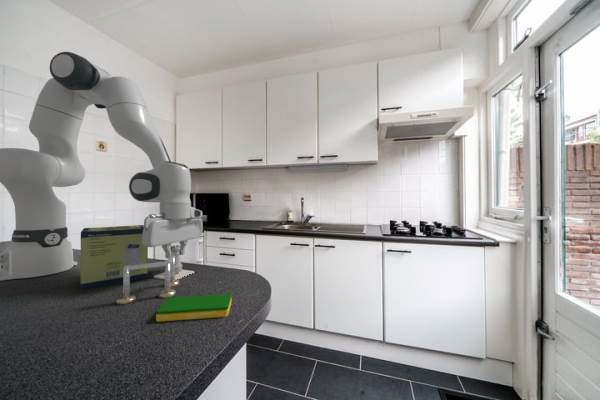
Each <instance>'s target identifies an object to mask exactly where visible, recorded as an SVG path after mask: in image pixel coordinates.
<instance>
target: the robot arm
mask: <svg viewBox="0 0 600 400" xmlns="http://www.w3.org/2000/svg"><path fill="white" fill-rule="evenodd" d="M49 74H51V77H52V78H49V79H48V80H47V81H46V82H45V84H44V86H43V87H42V89H41V91H40V92H39V95H38V97H37V99H36V102H35V105H34V108H33V112H32V115H31V118H30V121H29V125H28V130H29V131H30V133H31V134H32V135H33V136H34V137H35V138H36V140H37V142H38V147H39V149H38V150H32V149H27V148H20V147H19V148H18V147H1V148H0V183H1V185H2V186H3V187H4V188H5V189H6V190H7V192H8V193H9V195H10V197H11V199H12V202H13V205H14V213H15V215H14V216H15V229H13V231H12V234H11V239H10V241H11V243H10V244H9V245H8V246H7V247H6V248H5V249H4V250H3V251H2V252H0V281H9V280H15V279H17V280H19V279H28V278H37V277H43V276H49V275H53V274H58V273H62V272H65V271H68V270H71V269H72V268H73V267H74V265H75V266H77V265H78V261H75V260H74V252H73V244H72V242H71V241H69V240H68V239H67V238H68V237H69V234H68V233H69V230H68V227H67V206H66V204H65V202H64V201H62V200H61V199H59V197H58V196H57V195H56V193H55V191H54V189H53V188H66V187H71V186H72V187H73V186H77V185H79V184H81V183H82V182H83V181H84V179H85V177H86V169H85V167H84V166H83V164H82V163H81V162H80V160H79V155H78V148H77V145H78V139H79V135H80V134H79V133H80V130H81V128H82V127H81V126H82V123H83V120H84V117H85V113H86V110H87V108H88V107H90V106H91V105H93V106H95V107H96V109H101V110H102V109H106V112H107V116H108V120H109V123H110V124H111V127H112V129H114V131H115V132H116V133H117V134H118V135H119V136H120V137H122V138H123V139H125V140H127V141H128V142H130V143H131V144H133V145H135V146H137V147H138V148H139V149H140V150H141V151H143V152H144V153H145V154H146V156H147V157H148V159H149V162H150V164H151V166H152V169H149V170H146V171H145V170H144V171H143V172H141V171H140V172H136V173H135V174H134V175H133V176H132V177H131V178H130V180H129V184H128V190H129V193H130V195H131V197H132V198H133V199H134V200H136V201H137V202H142V203H159V213H155V214H154V213H152V214H148V216H146V217H145V218H144V220H143V225H144V228H143V234H142V244H143V245H144V246H145V247H148V248H156V247H161V248H162V249H163V252H164V253H165V255H164V256H165V258H166V259H168V258H169V257H170V255H173V254H174V252H171V250H170V248H171V246H172V244H175V243H178V244H180V245H179V246H180V248H181V249H180V251H179V253H180V254H179V256H182V255H185V249H186V248H187V245H188V242H189V240H195V239H200V238H201V237H202V235H203V226H204V225H203V219H202V217H203V211H202V210H200V209H197V208H195V207H193V206H192V201H191V198H190V196H191V192H192V176H191V175H192V174H191V172H190V171H191V170H190V168H189V166H187V165H186V164H184V163H178V162H176V161H175V162H174V161H171V157H170V156H169V154H168V151H167V149H166V147H165V144H164V141H163V140H162V138H161V136H160V135H159V133H158V132H157V129H156V128H155V125H154V123H153V122H152V119H151V116H150V114H149V110H148V107H147V105H146V104H147V103H146V102H145V99H144V97H143V95H142V92H141V91H140V89H139V87H138V85H137V84H136V83H135V82H134V81H132V80H131V79H129V78H127V77H123V76H113V75H112V74H110V73H109V72H108V71H106V70H105V69H103V68H100V66H98V65H96V64H94V63H93V62H90V61H89V60H88V59H87V58H85V57H83V56H81V55H79V54H77V53H74V52H71V51H62V52H58V53H57V54H56V55H54V56H53V57H52V59H50V63H49Z"/></svg>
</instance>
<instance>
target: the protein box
mask: <svg viewBox="0 0 600 400" xmlns="http://www.w3.org/2000/svg"><path fill="white" fill-rule="evenodd" d="M143 228H144V224H137V225H135V224H134V225H122V226H121V225H120V226H102V227H101V226H99V227H84V228H83V229H81V231H80V290H84V289H92V288H97V287H102V286H109V285H114V284H120V283H123V268H124V267H125V265H134V264H144V263H149V262H148V261H149V259H148V257H149V256H148V255H149V253H148V252H149V247H145V246H144V245H143V244H142V234H143ZM148 270H149V269H148V268H140V269H130V282H132V281H137V280H143V278H144V279H147V278H148V277H149V276H148V273H149V272H148Z"/></svg>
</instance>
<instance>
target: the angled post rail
mask: <svg viewBox="0 0 600 400" xmlns="http://www.w3.org/2000/svg"><path fill="white" fill-rule="evenodd" d="M166 259H167V260H166V261H157V262H148V263H144V264H134V265H125V267H124V268H123V282H122V289H123V290H122V296H120V297H117V298H116V304H117V305H118V306H119V305H120V306H124V305H128V304H131V303H134V302H135V301H136V299H137V298H136V295H135V294H130V285H131V284H130V282H131V281H130V269H140V268H158V267H160V268H161V267H164V272H165V279H164V290H161V291H160V292H159V293H158V297H159V298H160V299H168V298H170V297H174V296H176V290H175V289H171V288H172V287H176V286H179V285H180V280H179V279H178V280H175V256H174V255H170V257H169V258H166Z"/></svg>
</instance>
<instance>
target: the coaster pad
mask: <svg viewBox="0 0 600 400" xmlns="http://www.w3.org/2000/svg"><path fill="white" fill-rule="evenodd" d="M192 273H193V274H195V270H187V269H182V271H180V272H177V273H175V280H177V279H178V280H179V279H182V277H183V278H185V277H187V275H188V276H190V275H189V274H191V275H193V274H192ZM184 276H185V277H184ZM153 279H159V280H165V271H164V272H161V273H159V274H158V273H157V274H155V275H153Z"/></svg>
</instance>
